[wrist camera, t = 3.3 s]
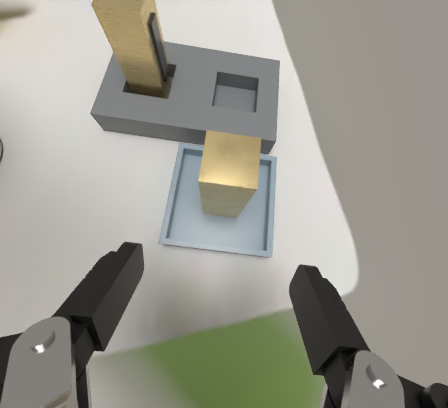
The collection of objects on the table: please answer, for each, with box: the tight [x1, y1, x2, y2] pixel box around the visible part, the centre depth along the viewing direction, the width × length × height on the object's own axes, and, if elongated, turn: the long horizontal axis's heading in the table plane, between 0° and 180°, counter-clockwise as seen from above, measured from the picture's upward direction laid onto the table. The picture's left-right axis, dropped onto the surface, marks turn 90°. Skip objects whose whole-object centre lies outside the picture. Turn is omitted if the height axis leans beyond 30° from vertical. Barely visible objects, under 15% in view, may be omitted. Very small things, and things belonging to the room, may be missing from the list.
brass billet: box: [198, 130, 261, 218], centre depth 18 cm, size 4×4×10 cm
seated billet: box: [91, 0, 172, 99], centre depth 21 cm, size 4×4×10 cm
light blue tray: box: [159, 143, 277, 257], centre depth 22 cm, size 12×12×2 cm
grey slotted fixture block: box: [90, 42, 280, 154], centre depth 25 cm, size 22×13×3 cm, turn 83°
